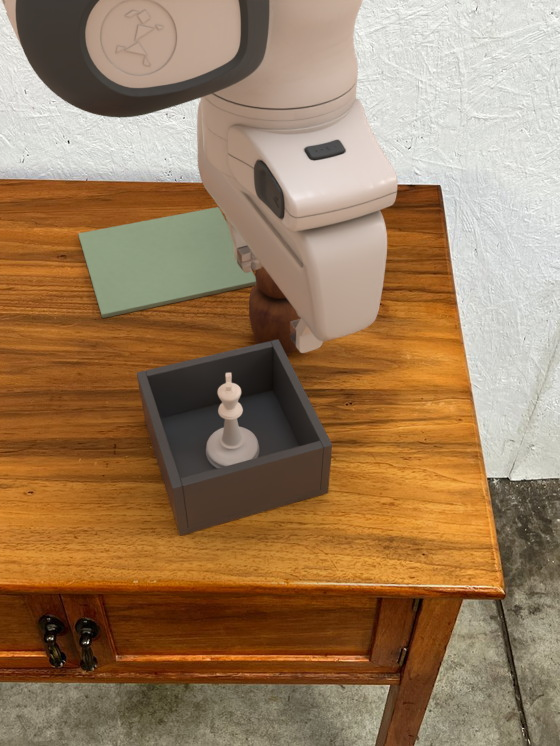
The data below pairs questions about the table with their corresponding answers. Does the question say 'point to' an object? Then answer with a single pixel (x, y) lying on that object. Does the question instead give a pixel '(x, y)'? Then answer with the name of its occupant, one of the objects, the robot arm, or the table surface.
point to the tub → (260, 416)
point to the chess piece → (231, 431)
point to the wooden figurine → (271, 312)
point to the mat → (162, 261)
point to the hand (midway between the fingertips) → (276, 302)
